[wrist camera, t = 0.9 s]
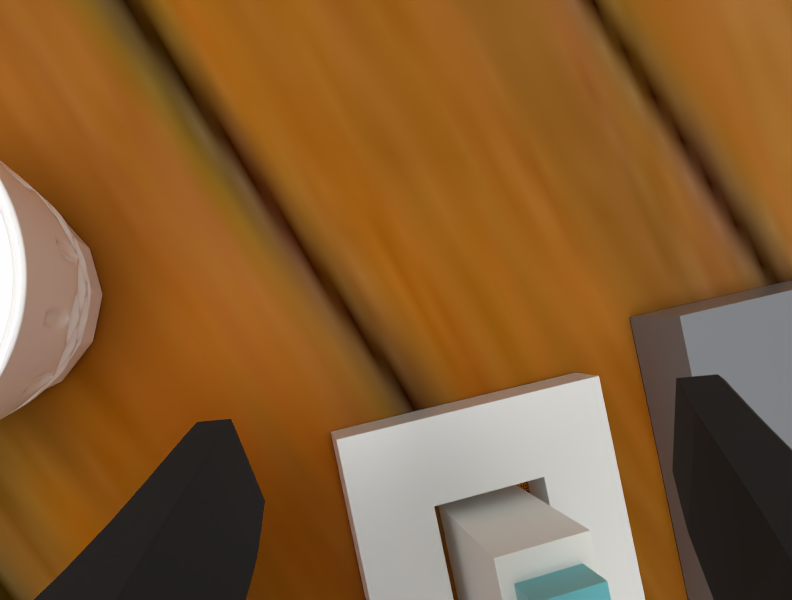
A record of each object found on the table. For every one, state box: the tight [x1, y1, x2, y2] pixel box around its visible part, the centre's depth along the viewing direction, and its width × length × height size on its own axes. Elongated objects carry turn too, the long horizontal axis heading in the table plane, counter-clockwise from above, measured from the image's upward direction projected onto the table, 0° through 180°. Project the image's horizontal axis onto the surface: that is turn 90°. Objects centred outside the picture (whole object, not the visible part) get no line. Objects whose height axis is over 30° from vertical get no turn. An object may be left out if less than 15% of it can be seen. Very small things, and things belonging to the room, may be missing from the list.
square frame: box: [331, 373, 645, 600], centre depth 24 cm, size 11×9×2 cm
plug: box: [438, 485, 611, 600], centre depth 22 cm, size 4×3×7 cm, turn 12°
